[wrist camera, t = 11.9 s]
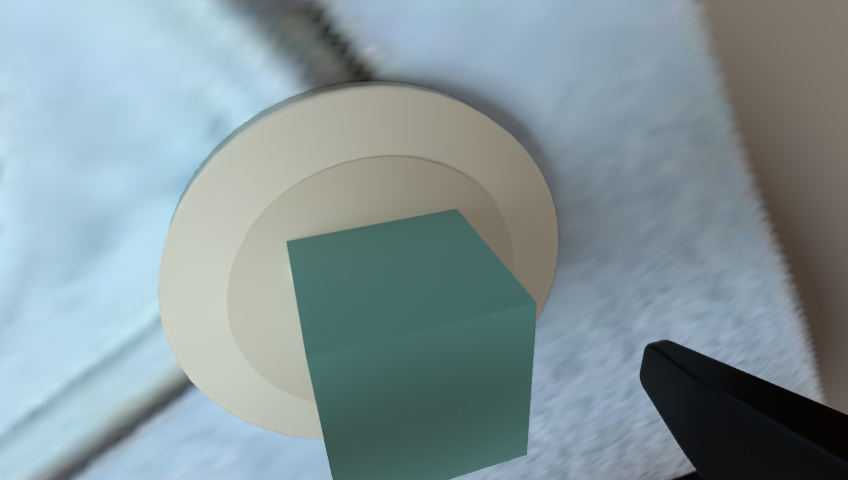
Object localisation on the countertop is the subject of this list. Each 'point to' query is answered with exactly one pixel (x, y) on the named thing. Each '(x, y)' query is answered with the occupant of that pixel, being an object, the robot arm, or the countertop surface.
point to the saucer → (329, 226)
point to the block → (414, 348)
